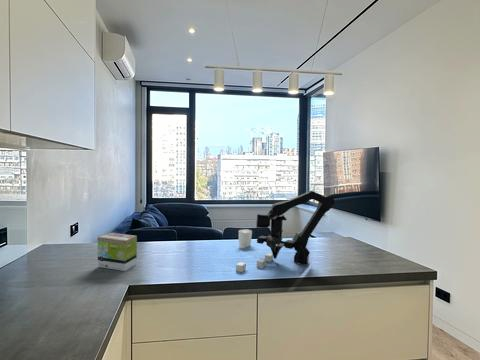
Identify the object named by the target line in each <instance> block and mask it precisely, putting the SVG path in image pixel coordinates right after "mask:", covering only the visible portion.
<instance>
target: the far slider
mask: <svg viewBox="0 0 480 360" xmlns="http://www.w3.org/2000/svg"><path fill="white" fill-rule="evenodd" d="M264 259H266V262H268V263H271V262H272V261H274V257H273V253H270V252H268V253H265V254H264Z"/></svg>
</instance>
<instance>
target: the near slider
mask: <svg viewBox="0 0 480 360" xmlns="http://www.w3.org/2000/svg"><path fill="white" fill-rule="evenodd" d="M246 264H247V263H246V262H241V261H239V262H238V263H236V264H235V265H236V266H235V271H236V272H240V273H243V272H244V271H246V269H247V268H246Z"/></svg>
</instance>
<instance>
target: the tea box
mask: <svg viewBox="0 0 480 360" xmlns="http://www.w3.org/2000/svg"><path fill="white" fill-rule="evenodd" d="M137 245H138V236H137V235H132V234H125V233H118V232H116V233H115V232H109V233H106V234H104V235H101V236H98V237H97V268H101V269H102V268H103V269H110V270H116V271H121V272H126V271H128V270H130V269H131V268H133V267H135V266H136V265H137V258H138V256H137V254H138V252H137V250H138V248H137V247H138V246H137Z"/></svg>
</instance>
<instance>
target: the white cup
mask: <svg viewBox="0 0 480 360" xmlns="http://www.w3.org/2000/svg"><path fill="white" fill-rule="evenodd" d="M252 235H253V230H251V229H239V230H238V248H239V249H245V248H247V247H248V248H249V247H251V246H252V245H251V244H252Z"/></svg>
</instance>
